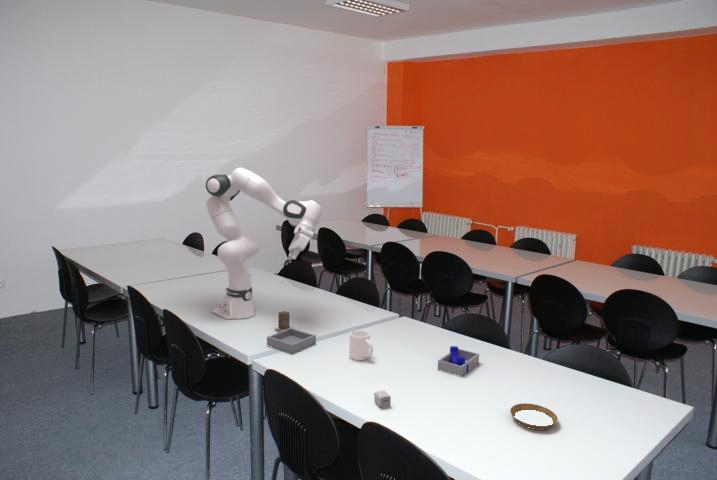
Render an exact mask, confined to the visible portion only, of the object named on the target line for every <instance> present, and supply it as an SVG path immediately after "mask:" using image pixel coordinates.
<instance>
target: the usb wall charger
mask: <svg viewBox="0 0 717 480" xmlns="http://www.w3.org/2000/svg"><path fill="white" fill-rule="evenodd" d="M373 395H374V403H375V404H376V405H377V406H378V407H379V408H380V409H384V408H383V407H385V408H389V407H391V403H392V402H391V400H392V398H391V395H390V394H388V392H386V390H378V391H376V392H373ZM388 406H389V407H388Z"/></svg>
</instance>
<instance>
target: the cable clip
mask: <svg viewBox="0 0 717 480" xmlns="http://www.w3.org/2000/svg"><path fill="white" fill-rule="evenodd" d="M458 349H459V347H458V346H457V345H455V346H452V345H451V346H449V353H450V352H451V363H452V364H456V365H459V366H462V365H463V364H464V363H466V360H465V357H459V356H458ZM468 367H469V365H467V373H469V371H468Z"/></svg>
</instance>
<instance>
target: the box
mask: <svg viewBox="0 0 717 480" xmlns="http://www.w3.org/2000/svg"><path fill="white" fill-rule="evenodd" d="M316 344H317V335H316V334H313V333H310V332H307V331H306V332H305V331H303V330H299V329H296V328H294V327H292V328H289V329H286V330H284V331H281V332H276V333H274V334H271V335H268V336H266V346H267V345H269V346H272V347H275V348H277V349H276V350H279V351H281V352H285V353H288V354H291V355H294V354H297V353H298V352H301V351H304V350H305V349H308V348H310V347H312V346H315V345H316ZM269 346H268V347H269ZM272 347H271V348H272ZM275 348H274V349H275Z"/></svg>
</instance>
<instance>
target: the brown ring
mask: <svg viewBox="0 0 717 480" xmlns="http://www.w3.org/2000/svg"><path fill="white" fill-rule="evenodd" d="M509 410H510V411H509V412H510V414H511V416H512V418H513V419H514V420H515V421H516V422H517V423H518V424H519V423H520V424H519V425H521V424H522V425H524V426H526V427H525V428H527V427H530V428H534V429H533V430H535V429H543V430H546V428H547V429H549V428H551V427H553V426H555V424H557V423H558V416H557V415H556V413H555V412H554V411H552V410H551V409H549V408H547V407H544V406H542V405H538V404H534V403H518V404H515V405H513V406H512V407H510V409H509ZM521 410H536V411H539V412H543V413H545V414H546V415H548V416H549V417H551V418H552V420H553V424H552V425H548V426H536V425H530V424H527V423H524V422H522V421H520V420H518V419H516V418H515V417H514V416H515V413H516V412H518V411H521ZM522 425H521V426H522ZM524 426H523V427H524ZM530 428H529V429H530Z"/></svg>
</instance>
